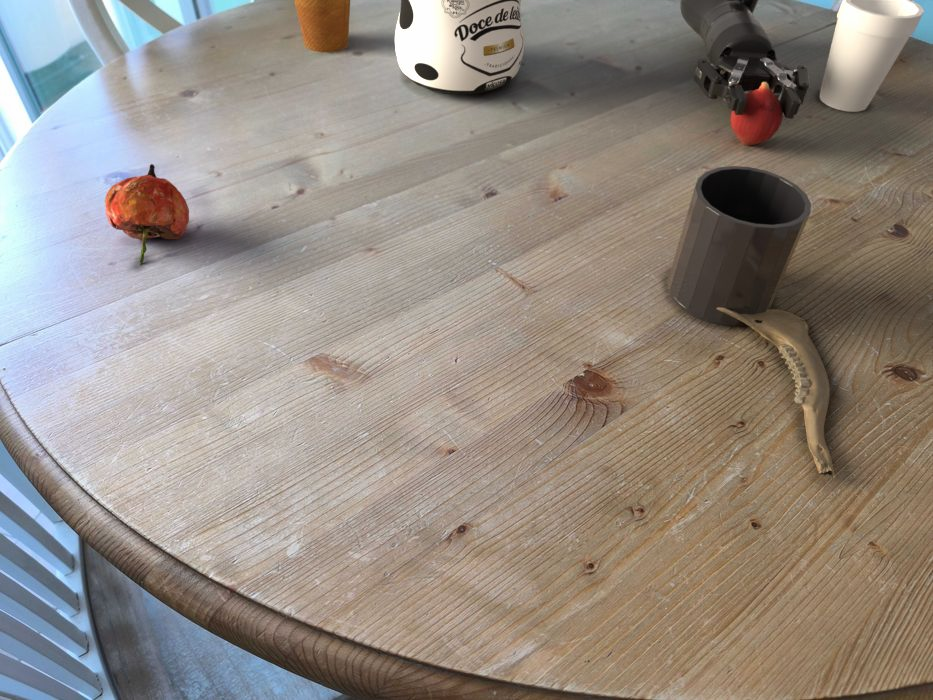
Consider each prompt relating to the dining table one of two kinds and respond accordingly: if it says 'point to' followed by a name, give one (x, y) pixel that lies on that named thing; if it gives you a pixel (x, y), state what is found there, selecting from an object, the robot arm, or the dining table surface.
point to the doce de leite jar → (460, 43)
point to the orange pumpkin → (147, 208)
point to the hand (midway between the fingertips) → (767, 109)
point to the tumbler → (736, 243)
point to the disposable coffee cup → (324, 24)
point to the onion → (758, 116)
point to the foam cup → (865, 49)
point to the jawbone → (799, 373)
